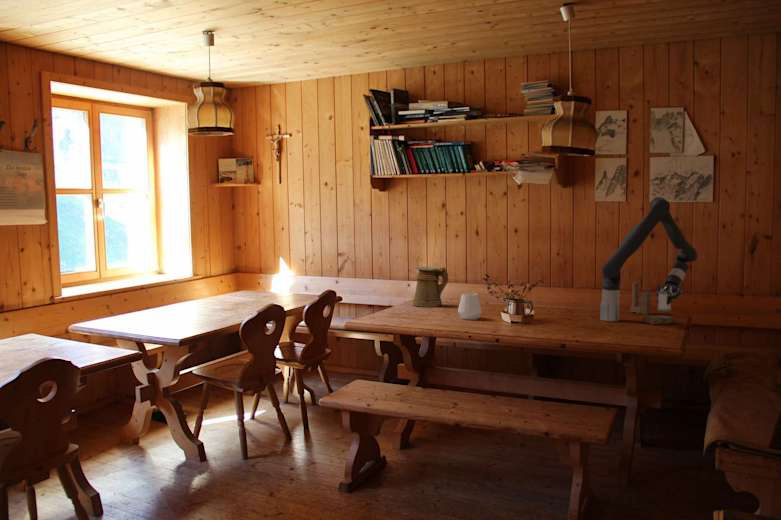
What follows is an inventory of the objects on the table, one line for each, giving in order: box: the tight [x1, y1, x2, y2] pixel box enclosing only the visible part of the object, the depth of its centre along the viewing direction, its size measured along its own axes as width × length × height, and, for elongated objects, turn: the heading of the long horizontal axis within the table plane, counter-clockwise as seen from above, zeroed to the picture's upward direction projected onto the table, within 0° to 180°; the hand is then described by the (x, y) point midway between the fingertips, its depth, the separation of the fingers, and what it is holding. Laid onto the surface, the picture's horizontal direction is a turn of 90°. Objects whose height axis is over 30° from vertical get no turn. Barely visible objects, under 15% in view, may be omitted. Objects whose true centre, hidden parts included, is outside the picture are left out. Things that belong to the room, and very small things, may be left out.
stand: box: [642, 315, 676, 325], centre depth 367 cm, size 14×9×3 cm, turn 109°
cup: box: [457, 292, 482, 321], centre depth 385 cm, size 13×13×14 cm
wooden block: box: [630, 281, 652, 315], centre depth 400 cm, size 4×11×18 cm, turn 40°
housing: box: [656, 291, 672, 312], centre depth 353 cm, size 5×5×10 cm
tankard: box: [412, 266, 449, 308], centre depth 435 cm, size 18×24×25 cm
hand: (662, 302), depth 352 cm, fingers closed on housing, 4 cm apart
